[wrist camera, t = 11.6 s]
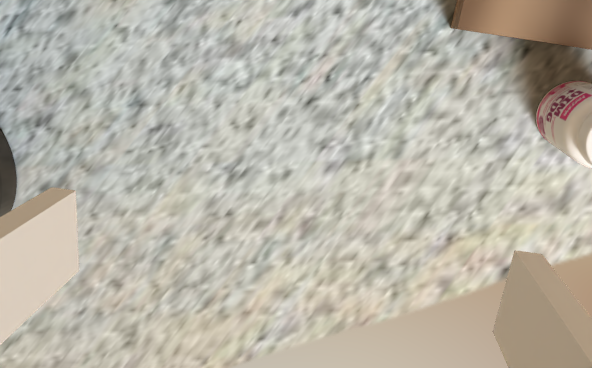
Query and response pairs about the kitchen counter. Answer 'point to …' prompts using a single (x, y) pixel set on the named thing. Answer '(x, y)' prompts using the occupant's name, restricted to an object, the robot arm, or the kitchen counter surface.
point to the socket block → (529, 20)
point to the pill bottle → (568, 120)
